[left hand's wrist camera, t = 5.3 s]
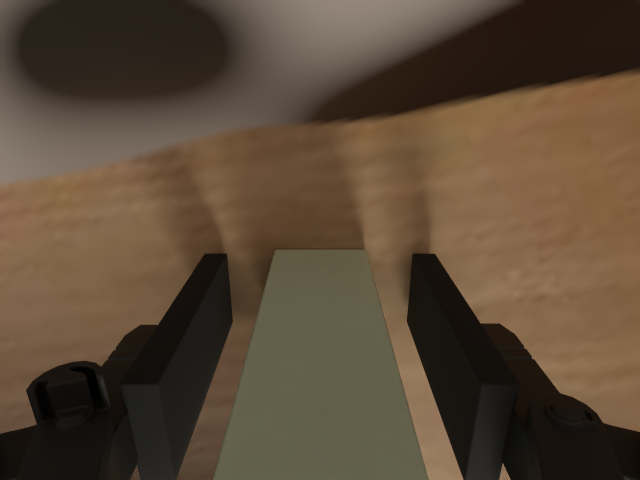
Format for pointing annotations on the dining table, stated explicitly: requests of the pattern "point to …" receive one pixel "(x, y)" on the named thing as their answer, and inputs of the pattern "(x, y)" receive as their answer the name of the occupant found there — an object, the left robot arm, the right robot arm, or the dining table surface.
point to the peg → (320, 380)
